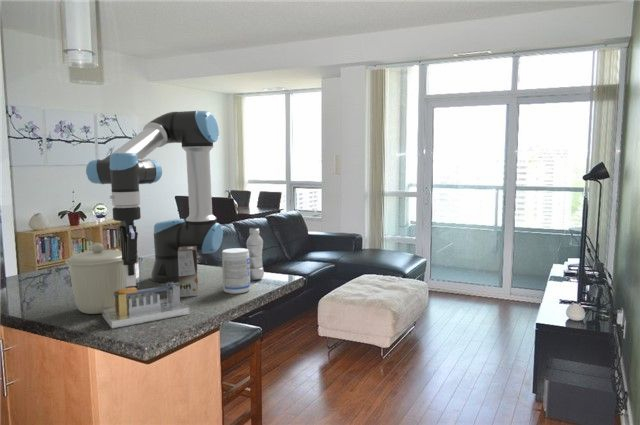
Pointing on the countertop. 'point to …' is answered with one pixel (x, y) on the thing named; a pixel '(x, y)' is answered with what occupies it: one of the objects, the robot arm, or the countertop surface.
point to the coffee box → (188, 271)
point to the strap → (135, 292)
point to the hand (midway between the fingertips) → (130, 285)
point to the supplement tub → (236, 270)
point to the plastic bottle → (255, 254)
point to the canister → (96, 278)
